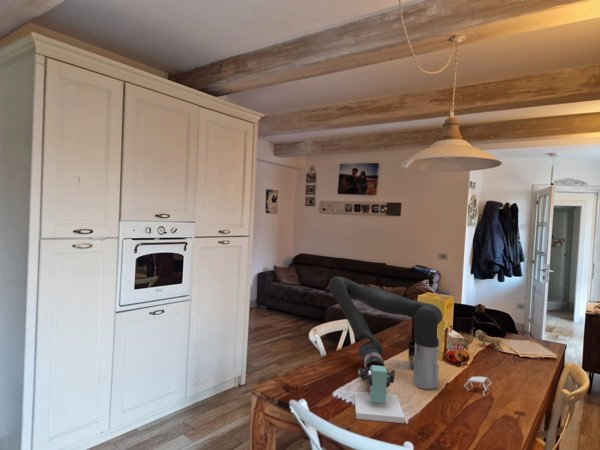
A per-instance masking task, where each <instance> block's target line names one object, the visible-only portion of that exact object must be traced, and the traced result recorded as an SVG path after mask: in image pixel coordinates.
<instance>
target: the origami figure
mask: <svg viewBox="0 0 600 450" xmlns="http://www.w3.org/2000/svg"><path fill="white" fill-rule="evenodd" d="M486 381H487V382H489V383H488V385H485V383H486ZM469 383H470V385H471V389H473V388H474V386H473V383H478V384H479V383H480V384H482V385H483V388H484V389H483V390H482V394H483V396H485V395H486V394H485V392H486V391H489V388H488V387H490V385H492V382H491V380H490V379H489V377H487V376H471V377H470V378H469V379H467V381H466V382H465V384H464V385H463V387H464V388H466V392H468V391H469V390H470V388H468V387H467V385H468V384H469Z"/></svg>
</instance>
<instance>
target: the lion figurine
mask: <svg viewBox="0 0 600 450" xmlns="http://www.w3.org/2000/svg"><path fill="white" fill-rule="evenodd" d="M474 335H475V337H476V339H477V340H478V341H479V342H481V343H482V344H481V348H485V346H486V344H493V345H494V347H493V350H496V351H497V352H500V351H503V352H505V350H504V349H503V348H502V345H501V341H500V340H499V339H498V338H497V337H493V336H489V335H488V333H486V332H484V331H483V330H481V329H477V330H475V334H474Z"/></svg>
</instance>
